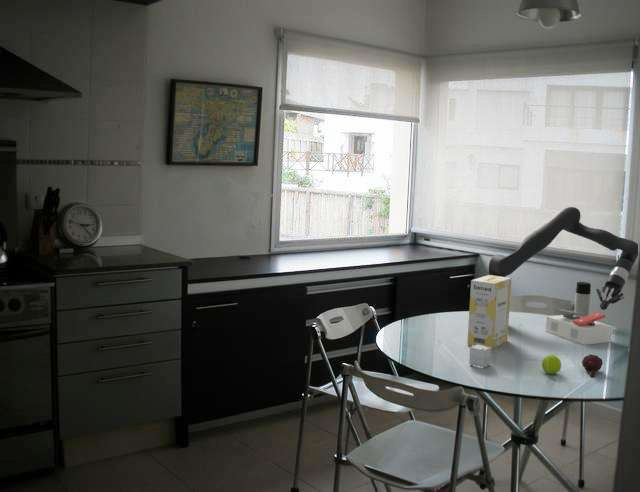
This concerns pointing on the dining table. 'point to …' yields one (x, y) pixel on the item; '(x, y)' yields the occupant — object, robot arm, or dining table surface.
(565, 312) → the rocker
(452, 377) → the dining table surface
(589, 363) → the icecream
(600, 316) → the rocker
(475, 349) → the skincare box
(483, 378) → the dining table surface
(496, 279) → the pasta box
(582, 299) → the spray can
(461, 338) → the dining table surface
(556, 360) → the tennis ball
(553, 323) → the power strip
